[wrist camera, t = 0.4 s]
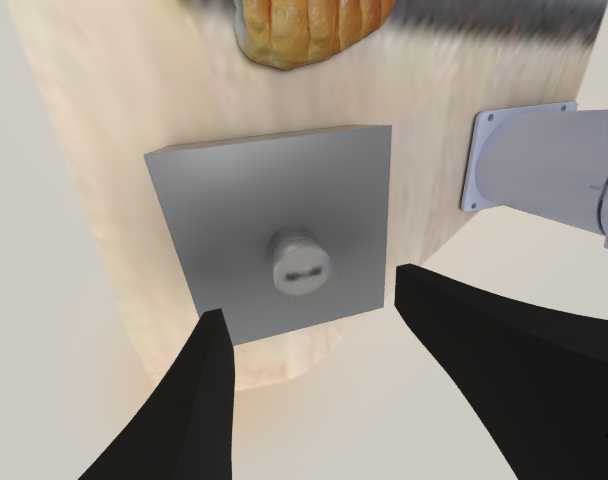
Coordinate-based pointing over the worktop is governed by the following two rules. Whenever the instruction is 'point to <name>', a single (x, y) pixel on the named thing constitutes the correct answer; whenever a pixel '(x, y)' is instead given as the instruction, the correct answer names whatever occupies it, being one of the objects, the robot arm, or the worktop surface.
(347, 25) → the pastry
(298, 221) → the cover
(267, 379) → the worktop surface
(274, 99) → the worktop surface
